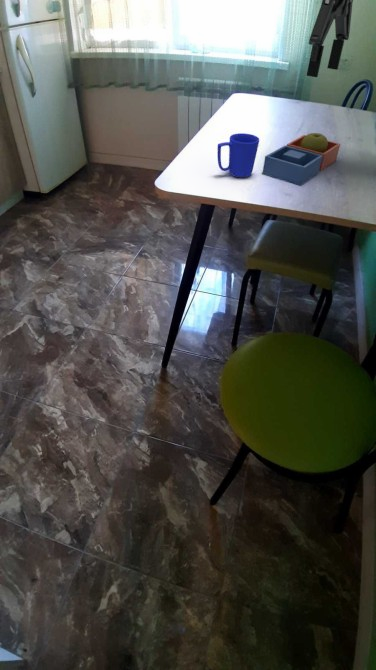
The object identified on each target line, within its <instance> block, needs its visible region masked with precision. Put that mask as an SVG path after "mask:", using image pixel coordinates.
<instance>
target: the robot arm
mask: <svg viewBox="0 0 376 670" xmlns="http://www.w3.org/2000/svg"><path fill="white" fill-rule="evenodd" d="M353 2H354V0H321V4H320V8H319V11H318V14H317V16H316V19H315V22H314V25H313V28H312V30H311V34H310V36H309V40H308V45H310V46H311V51H310V56H309V60H308V66H307V70H306V71H307V72H306V77H312V78H318V76H319V71H320V68H321V64H322V63H321V62H322V57H323V53H324V49H325V46H324V42H325V40H326V38H327V36H328V34H329V31H330V29H331V28H332V25H333V22H334V29H335V30H334V31H335V38H334V39H333V41H332V44H331V50H330V54H329V59H328V63H327V69H330V70H338V69H339V65H340V61H341V57H342V52H343V48H344V44H345V41H348V40H349V39H350V32H351V24H352V23H351V21H352V12H353Z"/></svg>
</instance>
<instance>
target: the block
mask: <svg viewBox="0 0 376 670" xmlns="http://www.w3.org/2000/svg"><path fill="white" fill-rule="evenodd" d="M305 158H306V154H305V153H301V152H297V151H294V150H290V151H288V152H286V153H284V154H283V157H282V160H283V161H287V162H290V163H294V164H297V165H301V166H304V162H305Z"/></svg>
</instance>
